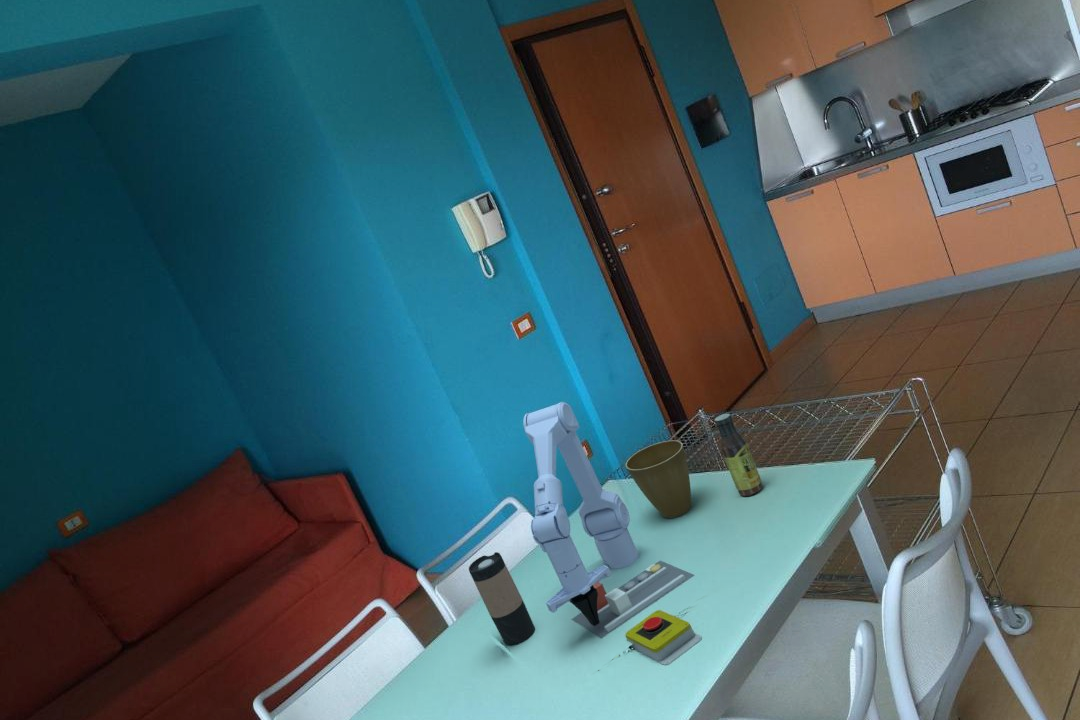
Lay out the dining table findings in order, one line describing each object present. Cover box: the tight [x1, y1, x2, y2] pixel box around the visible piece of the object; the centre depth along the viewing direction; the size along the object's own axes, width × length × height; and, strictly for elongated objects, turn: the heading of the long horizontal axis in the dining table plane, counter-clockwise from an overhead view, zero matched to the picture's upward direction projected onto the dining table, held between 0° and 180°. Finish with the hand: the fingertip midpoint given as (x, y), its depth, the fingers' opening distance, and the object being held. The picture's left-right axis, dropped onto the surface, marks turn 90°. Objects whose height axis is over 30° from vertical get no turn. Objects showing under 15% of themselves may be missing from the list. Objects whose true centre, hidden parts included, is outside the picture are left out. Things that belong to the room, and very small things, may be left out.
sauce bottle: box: [714, 413, 763, 497], centre depth 219 cm, size 7×6×20 cm
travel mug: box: [468, 552, 536, 647], centre depth 196 cm, size 8×8×20 cm
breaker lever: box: [605, 587, 632, 616], centre depth 188 cm, size 4×3×4 cm
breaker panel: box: [571, 560, 695, 639], centre depth 192 cm, size 14×24×2 cm, turn 114°
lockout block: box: [593, 581, 608, 611], centre depth 194 cm, size 4×4×5 cm
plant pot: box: [625, 439, 692, 519], centre depth 226 cm, size 15×15×16 cm
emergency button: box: [624, 609, 703, 666], centre depth 174 cm, size 9×4×15 cm
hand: (595, 623), depth 186 cm, fingers closed
